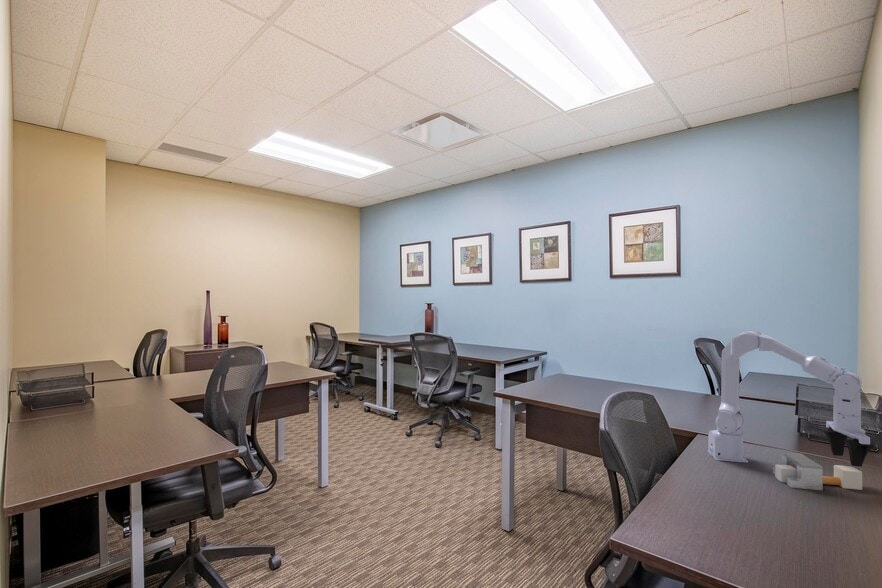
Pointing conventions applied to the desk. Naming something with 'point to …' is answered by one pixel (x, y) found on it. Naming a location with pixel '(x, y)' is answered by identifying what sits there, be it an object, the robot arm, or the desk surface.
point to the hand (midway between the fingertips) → (846, 460)
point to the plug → (842, 476)
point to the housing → (803, 471)
